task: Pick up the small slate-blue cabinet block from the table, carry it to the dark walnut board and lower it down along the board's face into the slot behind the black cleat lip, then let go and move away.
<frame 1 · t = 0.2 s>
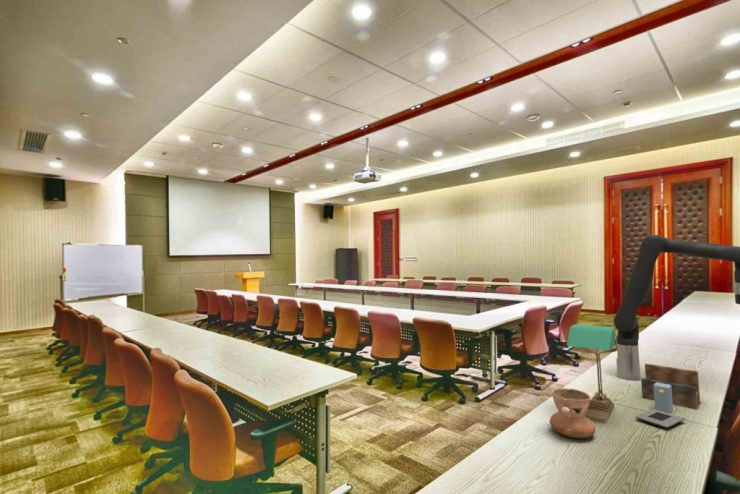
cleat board: (671, 398, 159), on the table
banker's lamp: (597, 413, 147), on the table
ceramic jug: (572, 432, 132), on the table
cabinet block: (664, 409, 148), on the table
electrical outlet: (660, 423, 138), on the table
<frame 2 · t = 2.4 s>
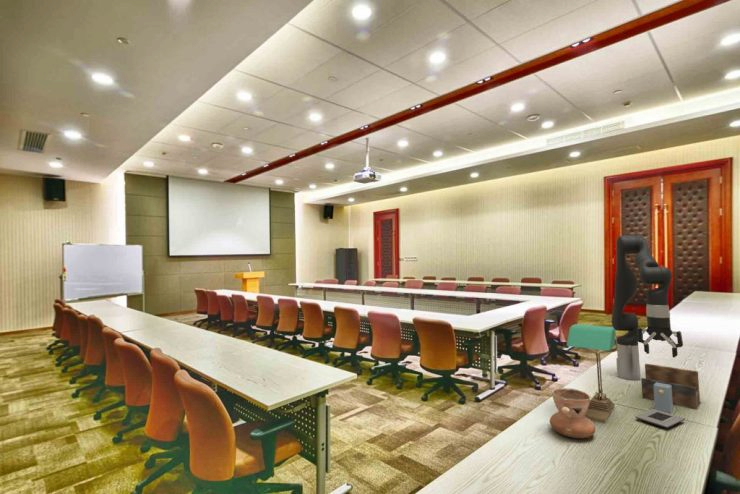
hand: (660, 355, 149), 22 cm above the table, tool pointing down, fingers open, 8 cm apart
nothing on the table moved.
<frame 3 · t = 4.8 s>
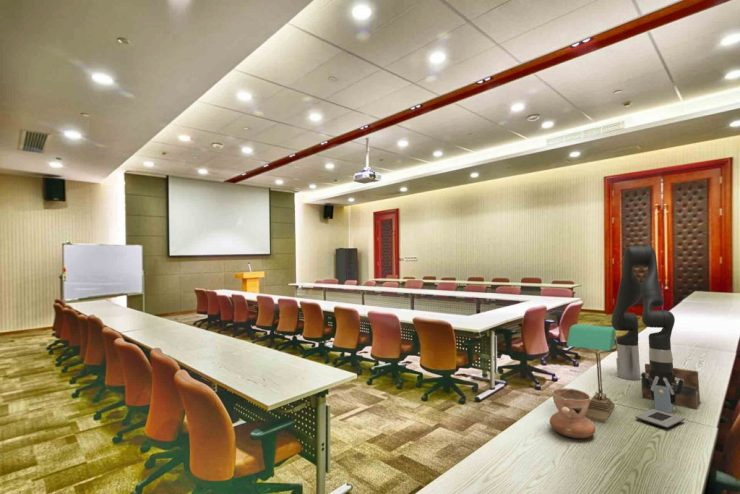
hand: (663, 401, 148), 3 cm above the table, tool pointing down, fingers closed on cabinet block, 5 cm apart
cabinet block: (664, 409, 148), on the table, touching gripper
everything else where it was.
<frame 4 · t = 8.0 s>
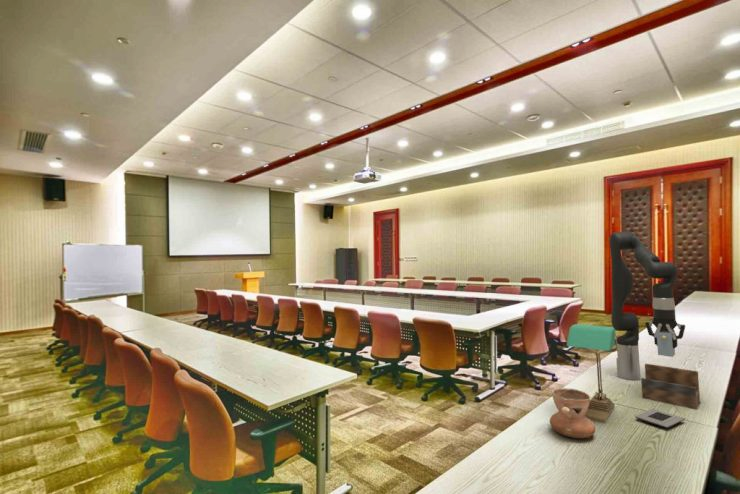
hand: (666, 346, 158), 23 cm above the table, tool pointing down, fingers closed on cabinet block, 5 cm apart
cabinet block: (666, 354, 158), point 20 cm above the table, touching gripper
everything else where it was.
when the fingers open (9 cm above the table, at t = 11.2 s): cabinet block stays where it is, resting on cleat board.
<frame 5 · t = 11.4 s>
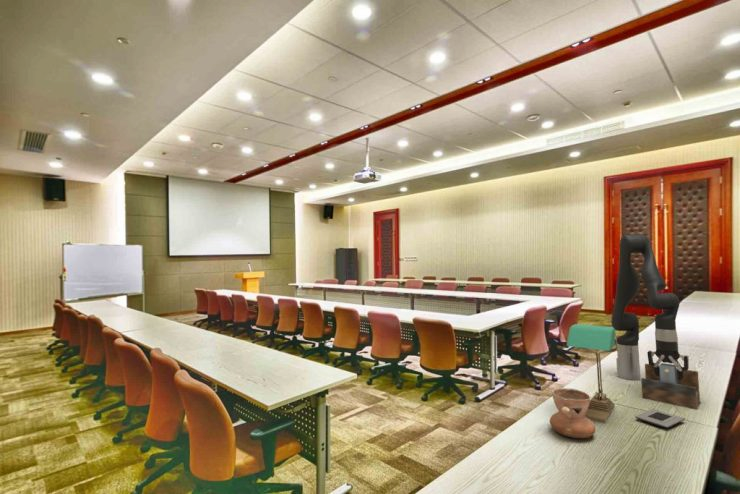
hand: (668, 377, 157), 10 cm above the table, tool pointing down, fingers open, 7 cm apart
cabinet block: (669, 388, 157), point 5 cm above the table, touching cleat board
everything else where it was.
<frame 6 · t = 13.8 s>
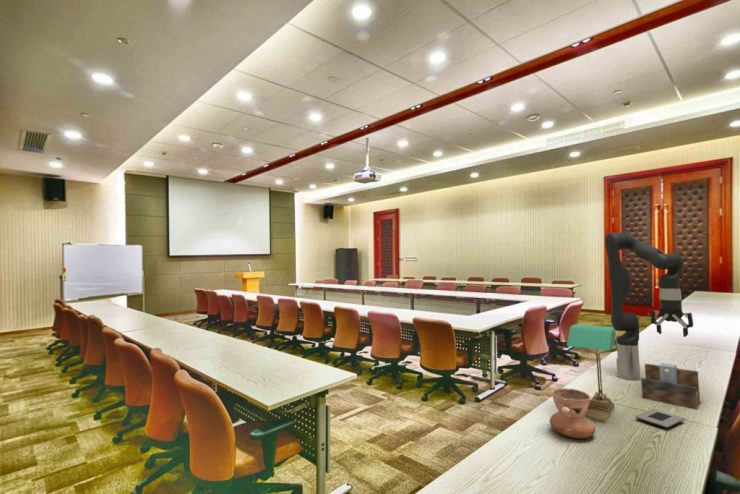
hand: (672, 335, 161), 27 cm above the table, tool pointing down, fingers open, 8 cm apart
nothing on the table moved.
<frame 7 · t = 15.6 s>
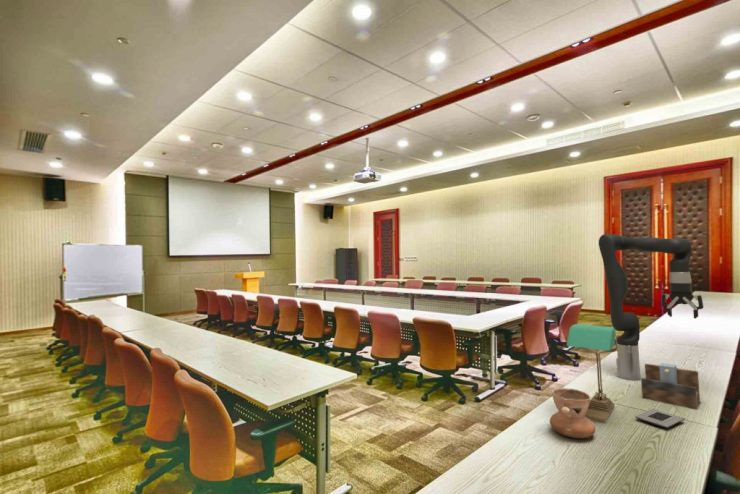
hand: (682, 317, 166), 34 cm above the table, tool pointing down, fingers open, 8 cm apart
nothing on the table moved.
at the end: cabinet block inside the target area on the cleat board (0.1 cm from its centre), point 5.0 cm above the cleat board's base; cabinet block tilted 0°; the gripper is holding nothing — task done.
